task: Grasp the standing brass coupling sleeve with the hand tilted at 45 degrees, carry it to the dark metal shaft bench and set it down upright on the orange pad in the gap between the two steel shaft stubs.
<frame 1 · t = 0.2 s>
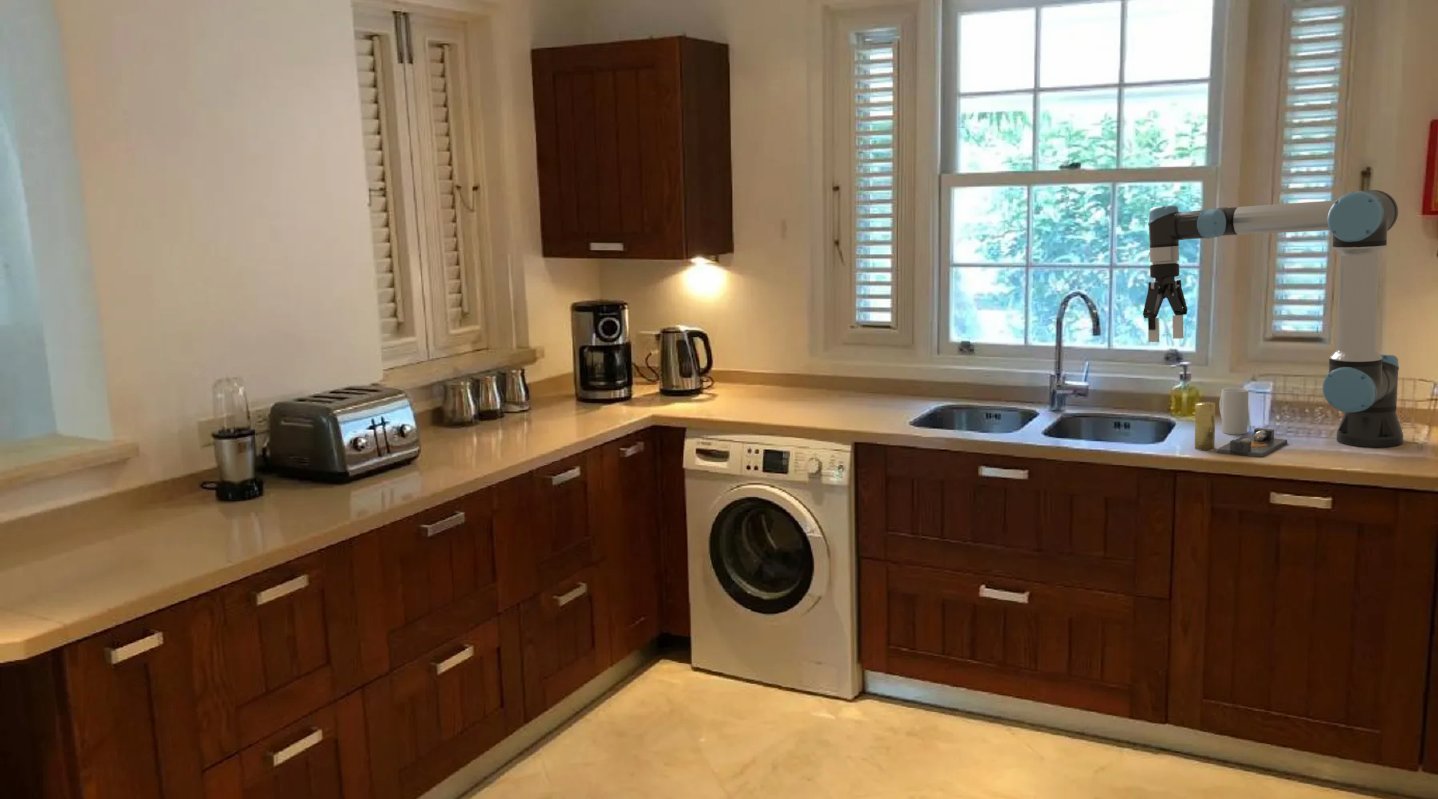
hand: (1166, 340, 319), 26 cm above the worktop, tool pointing down, fingers open, 13 cm apart
mug: (1230, 432, 322), on the worktop
shaft bench: (1252, 447, 301), on the worktop
sleeve: (1204, 448, 303), on the worktop
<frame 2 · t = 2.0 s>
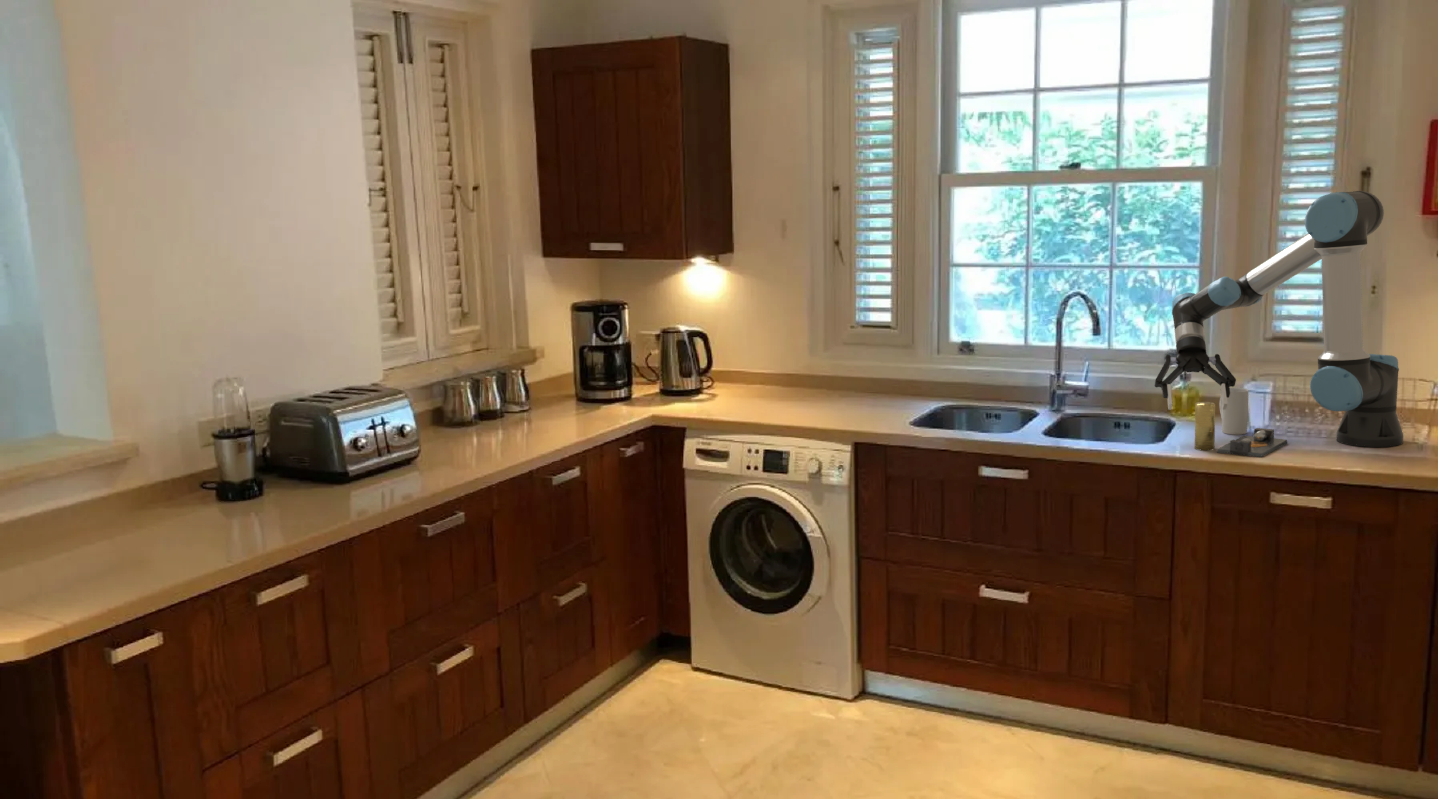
hand: (1197, 406, 306), 10 cm above the worktop, tool tilted 45°, fingers open, 13 cm apart
nothing on the worktop moved.
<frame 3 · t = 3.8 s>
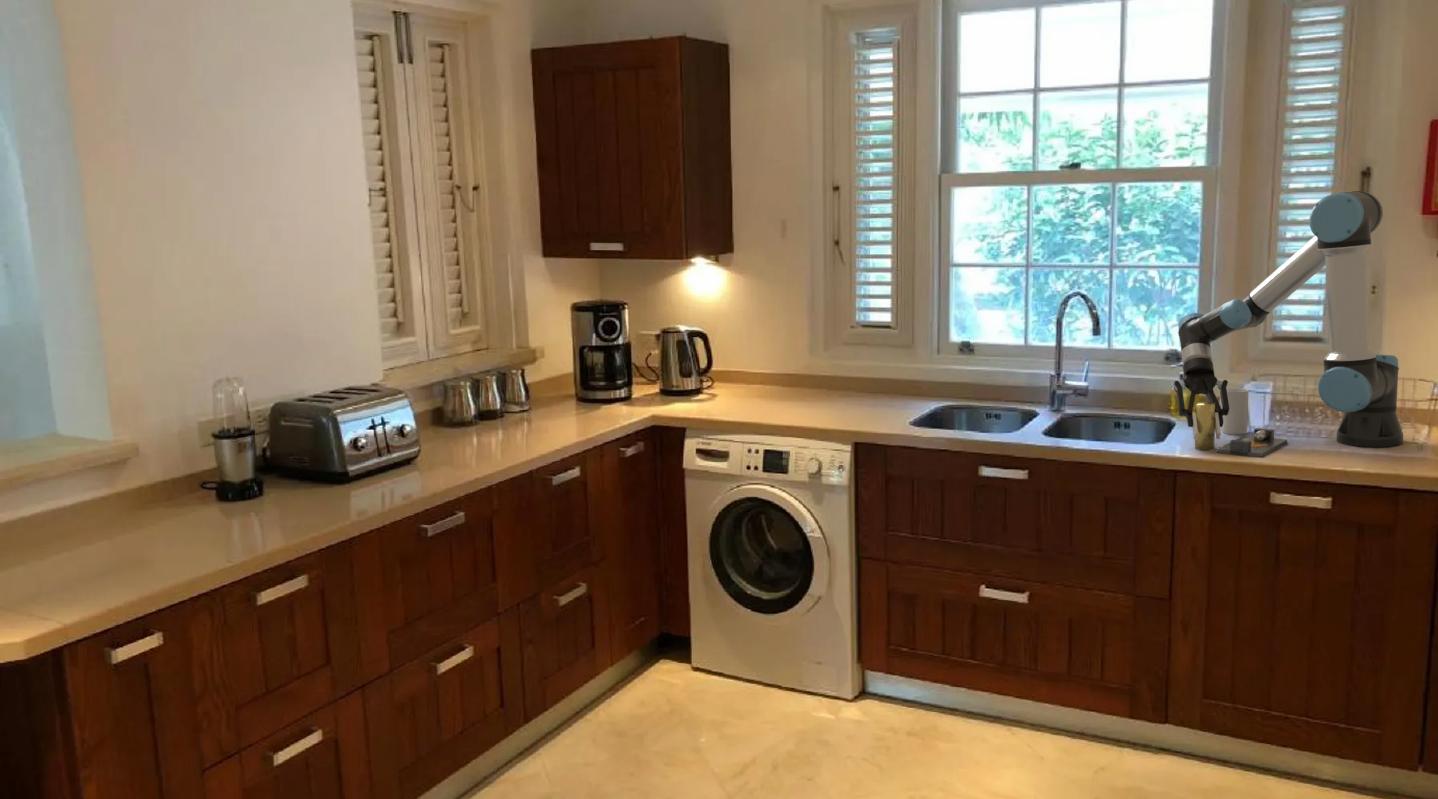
hand: (1207, 436, 299), 4 cm above the worktop, tool tilted 45°, fingers closed on sleeve, 5 cm apart
sleeve: (1204, 448, 303), on the worktop, touching gripper
everything else where it was.
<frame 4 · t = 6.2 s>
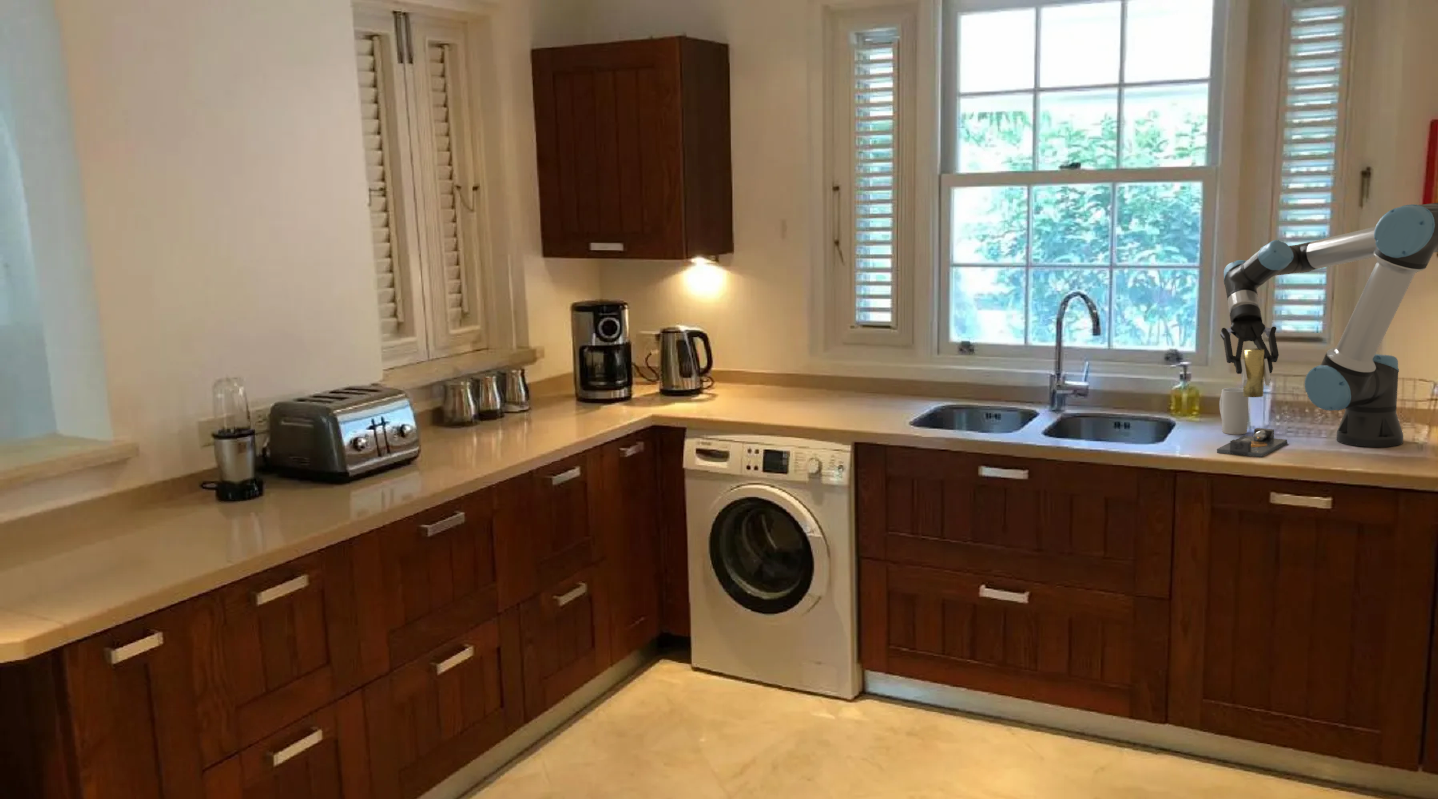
hand: (1256, 382, 294), 18 cm above the worktop, tool tilted 45°, fingers closed on sleeve, 5 cm apart
sleeve: (1253, 395, 299), point 14 cm above the worktop, touching gripper
everything else where it was.
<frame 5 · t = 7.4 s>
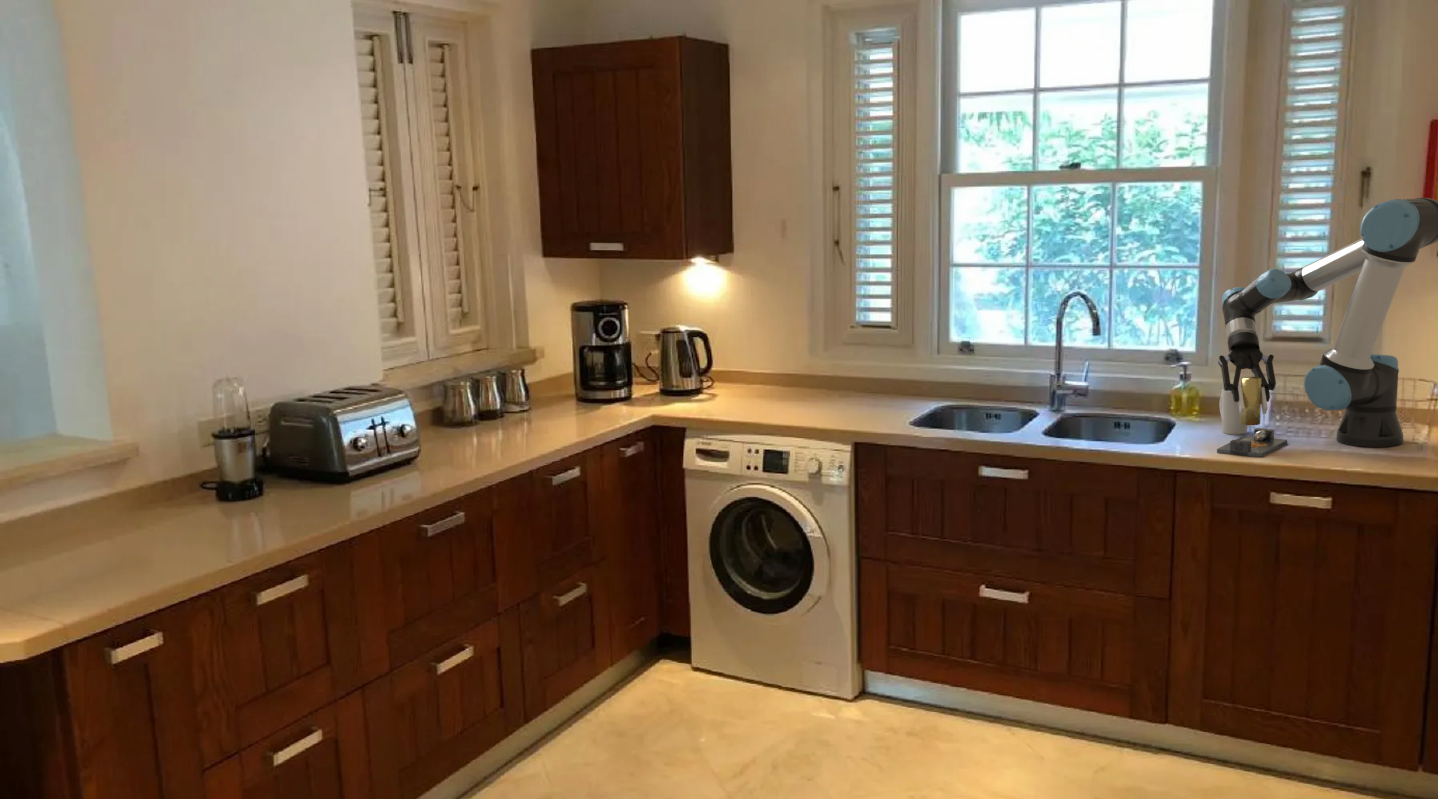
hand: (1253, 410, 296), 10 cm above the worktop, tool tilted 45°, fingers closed on sleeve, 5 cm apart
sleeve: (1250, 423, 301), point 6 cm above the worktop, touching gripper
everything else where it was.
when the fingers open (6 cm above the worktop, at t = 8.5 s): sleeve drops 1 cm, resting on shaft bench.
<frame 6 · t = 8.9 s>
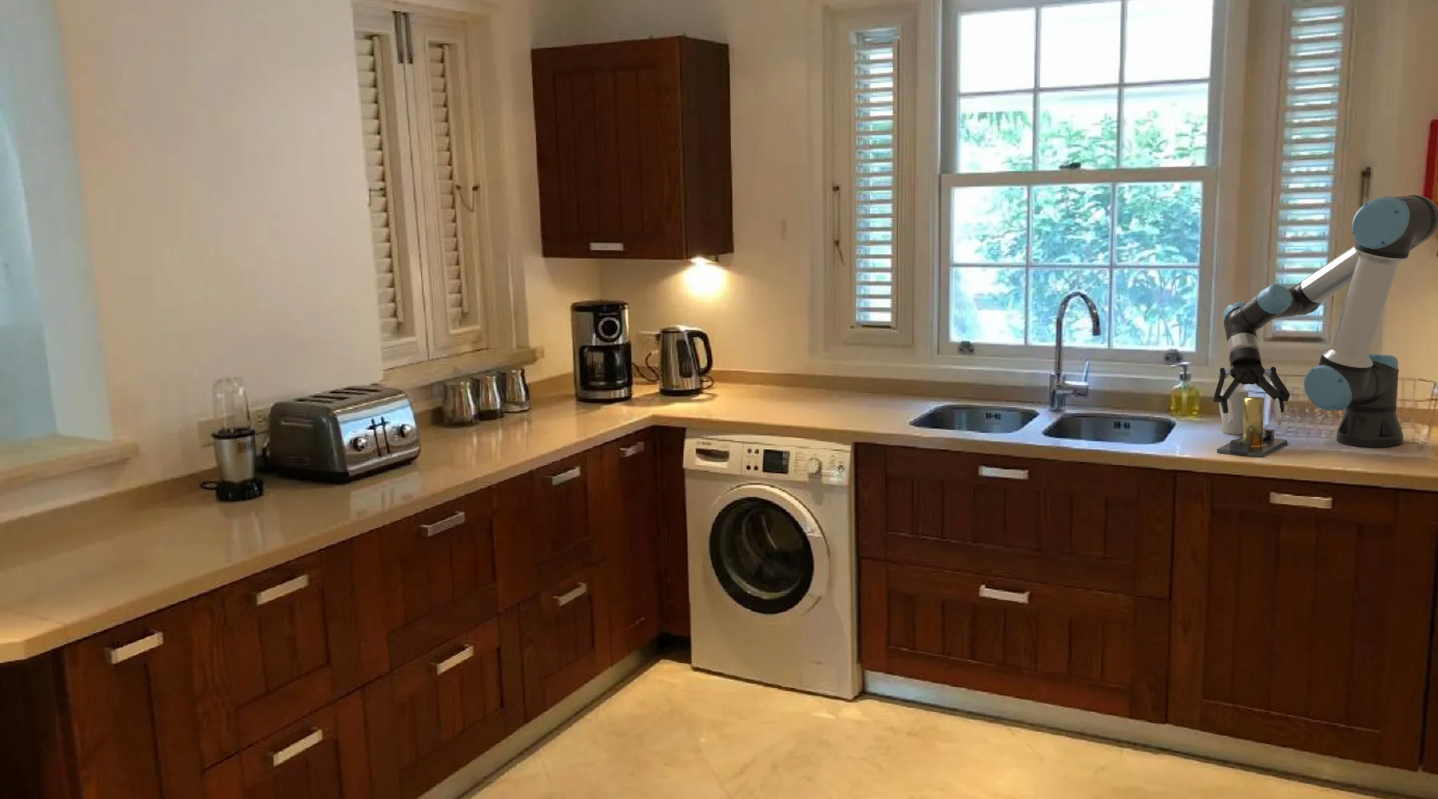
hand: (1255, 422, 297), 7 cm above the worktop, tool tilted 45°, fingers open, 11 cm apart
sleeve: (1252, 443, 301), point 1 cm above the worktop, touching shaft bench
everything else where it was.
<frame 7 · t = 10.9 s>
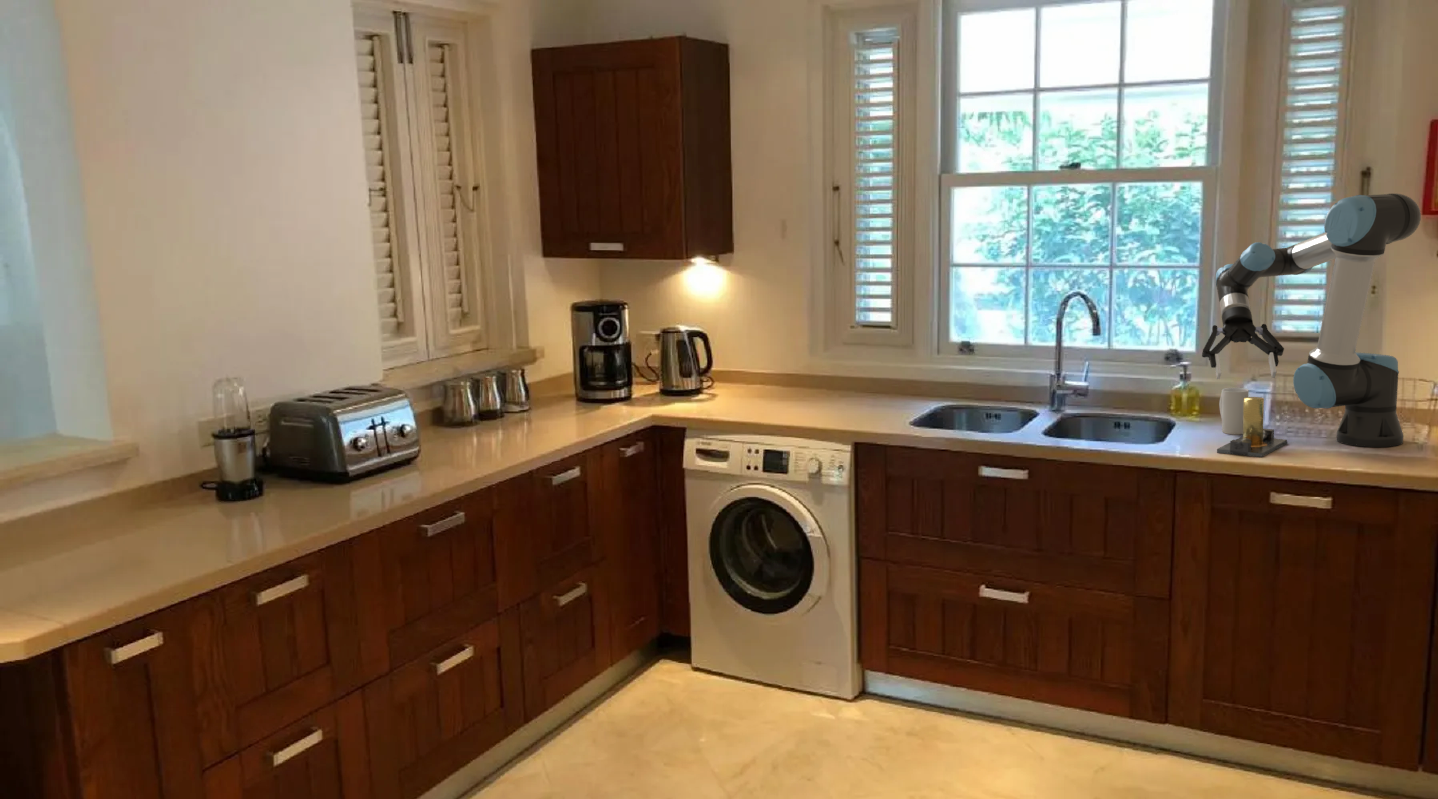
hand: (1246, 375, 307), 18 cm above the worktop, tool tilted 45°, fingers open, 13 cm apart
nothing on the worktop moved.
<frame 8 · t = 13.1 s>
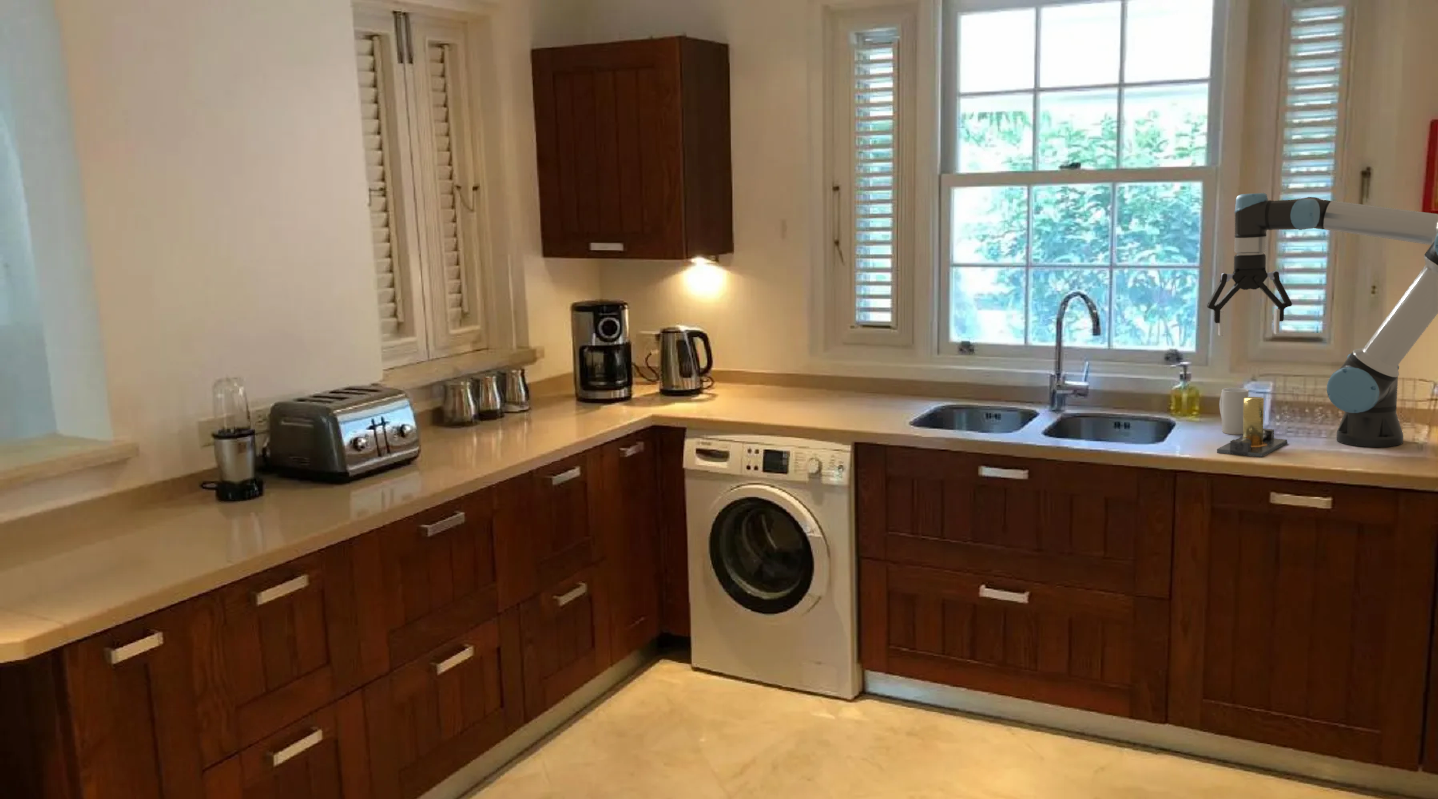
hand: (1248, 334, 304), 29 cm above the worktop, tool pointing down, fingers open, 13 cm apart
nothing on the worktop moved.
at the end: sleeve 0.1 cm off-centre on the shaft bench, point 1.1 cm above the shaft bench's base; sleeve tilted 1°; the gripper is holding nothing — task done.
